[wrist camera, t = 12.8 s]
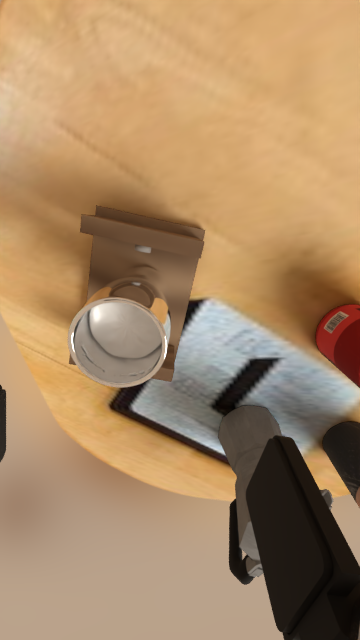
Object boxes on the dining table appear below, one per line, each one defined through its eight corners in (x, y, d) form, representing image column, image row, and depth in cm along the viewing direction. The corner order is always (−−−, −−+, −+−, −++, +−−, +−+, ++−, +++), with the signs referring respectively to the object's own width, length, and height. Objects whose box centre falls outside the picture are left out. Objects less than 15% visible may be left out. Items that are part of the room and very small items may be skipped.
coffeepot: (248, 383, 38) (308, 513, 21) (299, 411, 39) (392, 551, 23) (190, 455, 42) (200, 611, 25) (238, 477, 44) (278, 636, 27)
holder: (99, 206, 29) (76, 200, 23) (204, 230, 31) (212, 231, 24) (85, 342, 35) (63, 371, 28) (174, 359, 36) (174, 390, 29)
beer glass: (108, 310, 32) (57, 377, 18) (120, 254, 30) (72, 281, 16) (164, 325, 33) (155, 400, 19) (179, 271, 31) (183, 310, 17)
